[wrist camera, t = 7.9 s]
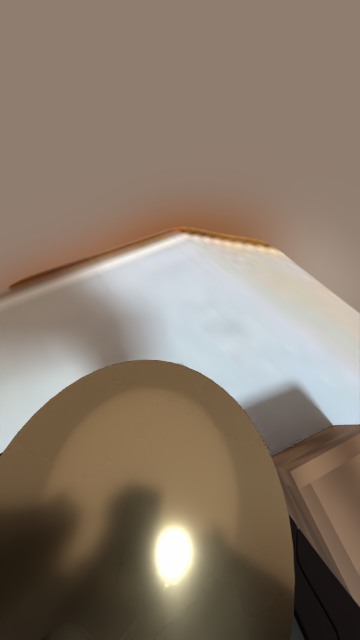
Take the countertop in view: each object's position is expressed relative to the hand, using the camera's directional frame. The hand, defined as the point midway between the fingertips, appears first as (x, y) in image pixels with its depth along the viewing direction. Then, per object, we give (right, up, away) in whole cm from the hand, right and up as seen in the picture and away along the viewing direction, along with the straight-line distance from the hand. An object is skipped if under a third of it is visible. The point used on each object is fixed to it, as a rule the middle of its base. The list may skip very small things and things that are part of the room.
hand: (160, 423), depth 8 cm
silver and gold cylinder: (-1, -3, +3) cm, 4 cm away
